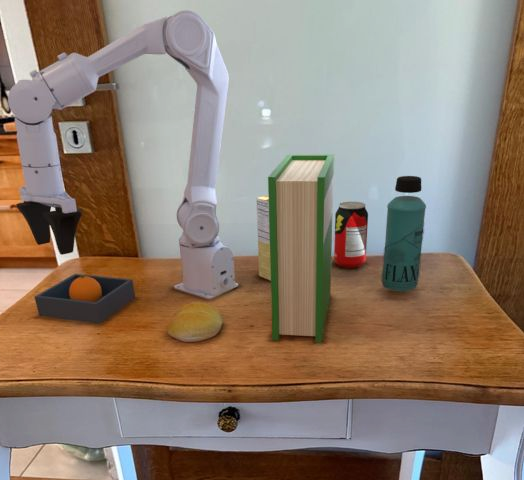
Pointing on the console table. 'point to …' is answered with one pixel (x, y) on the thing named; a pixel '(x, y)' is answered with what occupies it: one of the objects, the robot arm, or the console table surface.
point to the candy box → (263, 237)
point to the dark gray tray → (63, 307)
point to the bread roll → (195, 322)
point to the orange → (85, 289)
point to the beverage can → (350, 234)
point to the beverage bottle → (403, 237)
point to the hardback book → (301, 244)
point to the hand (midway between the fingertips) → (54, 248)
